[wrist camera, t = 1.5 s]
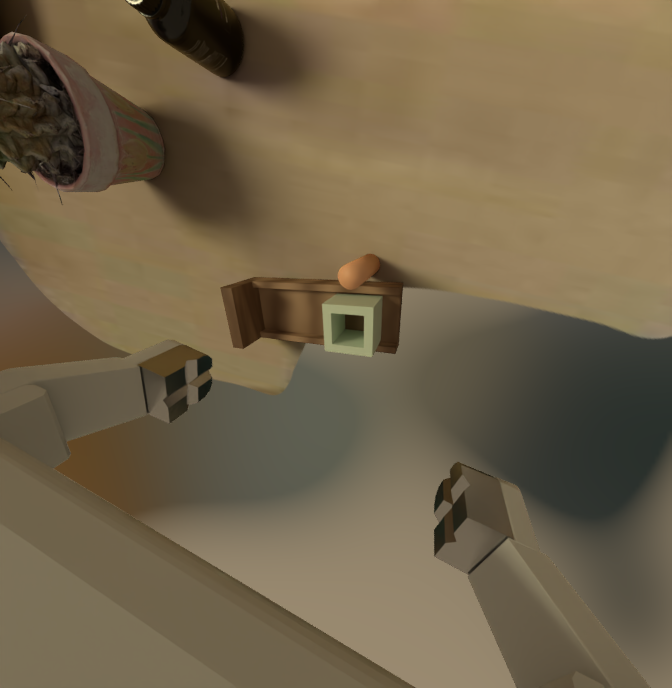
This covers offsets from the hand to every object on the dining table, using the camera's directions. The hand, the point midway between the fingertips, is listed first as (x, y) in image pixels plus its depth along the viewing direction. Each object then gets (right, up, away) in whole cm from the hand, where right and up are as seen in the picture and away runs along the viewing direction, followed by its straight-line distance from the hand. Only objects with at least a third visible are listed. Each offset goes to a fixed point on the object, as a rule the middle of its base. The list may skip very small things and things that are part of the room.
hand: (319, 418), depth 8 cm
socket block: (+4, +7, +32) cm, 33 cm away
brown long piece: (-2, +8, +37) cm, 38 cm away
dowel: (+6, +14, +31) cm, 34 cm away
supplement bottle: (-14, +42, +26) cm, 51 cm away
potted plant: (-33, +37, +36) cm, 61 cm away
